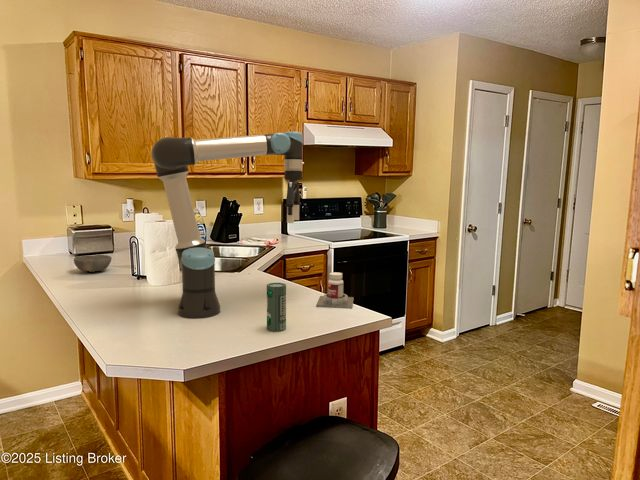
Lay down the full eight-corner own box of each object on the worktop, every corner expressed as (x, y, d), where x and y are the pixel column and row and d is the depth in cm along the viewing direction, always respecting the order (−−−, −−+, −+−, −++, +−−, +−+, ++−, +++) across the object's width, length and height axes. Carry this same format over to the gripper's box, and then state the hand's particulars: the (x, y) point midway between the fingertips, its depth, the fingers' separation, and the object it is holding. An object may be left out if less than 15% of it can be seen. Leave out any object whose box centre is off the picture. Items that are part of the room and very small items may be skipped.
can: (272, 324, 161) (272, 282, 159) (288, 327, 159) (288, 283, 157) (264, 330, 155) (263, 285, 153) (280, 332, 153) (280, 287, 151)
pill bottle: (324, 301, 189) (325, 273, 187) (333, 298, 194) (334, 271, 192) (337, 303, 185) (337, 275, 184) (346, 300, 190) (346, 273, 188)
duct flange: (352, 308, 182) (352, 300, 182) (316, 306, 183) (316, 299, 183) (353, 299, 196) (353, 292, 195) (320, 297, 197) (320, 290, 197)
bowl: (111, 274, 238) (110, 258, 237) (72, 276, 232) (71, 260, 231) (112, 267, 255) (112, 253, 254) (76, 269, 248) (75, 254, 247)
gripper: (297, 169, 181) (297, 224, 184) (306, 170, 205) (306, 219, 208) (278, 169, 181) (278, 224, 184) (289, 170, 206) (289, 218, 209)
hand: (293, 221), depth 196 cm, fingers open, 13 cm apart
